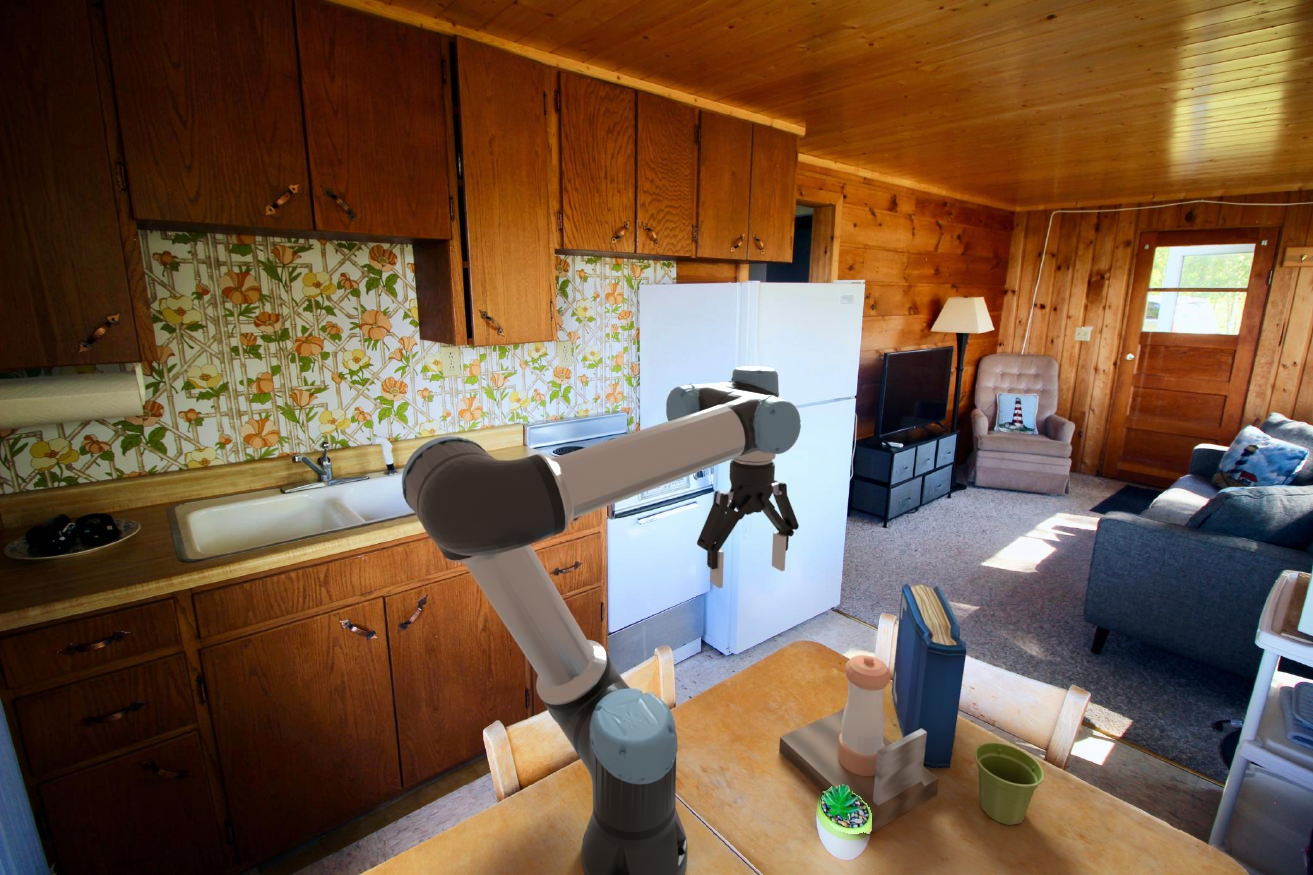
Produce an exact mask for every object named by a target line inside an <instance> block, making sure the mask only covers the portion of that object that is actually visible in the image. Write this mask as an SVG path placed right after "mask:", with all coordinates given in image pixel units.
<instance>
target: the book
mask: <svg viewBox="0 0 1313 875" xmlns="http://www.w3.org/2000/svg"><path fill="white" fill-rule="evenodd" d="M960 629H961V627H960V625H959V622H958V620H957V617H956V615H955V614H954V611H953V609H952V607H951V605H950V603H949V601H948V599H947V598H946V595H945V594H944V592H943V590H942V589H941V588H939V587H938V586H937V585H936V586H935V587H934V588H931V587H929V586H925V585H923V584H918V585H914V586H910V585H909V584H908V583H905V584H904V585H902V586H901V595H900V606H899V615H898V626H897V635H896V644H895V645H896V646H895V655H894V665H893V672H892V674H893V675H892V684H891V685H892V686H891V694H892V698H893V699H892V700H893V703H894V707H895V711H896V716H897V720H898V723H899V727H900V730H901V734H902V738H904V737H906V736H907V735H909V734H911V733H913V732H915V731H917V730H919V729H921V728H922V729H923V730H925V731H926V732H927V737H926V746H925V755H924V763H923V766H924V767H925V768H927V769H928V768H929V769H932V770H934V769H951V765H952V759H953V751H954V745H955V737H956V732H957V731H956V730H957V722H958V714H959V709H960V702H961V692H962V685H963V679H964V671H965V664H966V657H967V647H966V642H964V640H963V639H961V637H960V636H961V634H960V633H961V630H960Z"/></svg>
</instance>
